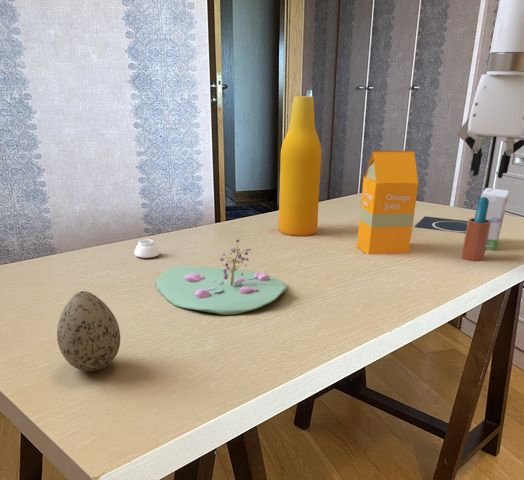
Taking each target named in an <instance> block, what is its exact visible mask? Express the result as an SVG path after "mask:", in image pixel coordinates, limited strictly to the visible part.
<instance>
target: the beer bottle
mask: <svg viewBox="0 0 524 480" xmlns="http://www.w3.org/2000/svg"><path fill="white" fill-rule="evenodd" d="M314 100H315V99H314V96H312V95H311V96H310V95H294V96H293V101H292V107H291V115H290V123H289V126H288V130H287V133H286V134H285V136H284V139H283V141H282V144H281V149H280V164H279V165H280V167H279V168H280V169H279V170H280V171H279V198H278V199H279V200H278V201H279V205H278V206H279V207H278V222H277V223H278V224H277V225H278V231H279V232H280V233H281V234H283V235H287V236H292V237H293V236H296V237H302V236H303V237H304V236H305V237H306V236H311V235H315V233H316V232H317V230H318V226H319V225H318V224H319V202H320V183H321V170H322V169H321V168H322V157H323V156H322V155H323V153H322V144H321V142H320V141H321V140H320V138H319V136H318V132H317V129H316V123H315V121H316V120H315V101H314Z"/></svg>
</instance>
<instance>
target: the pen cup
mask: <svg viewBox="0 0 524 480" xmlns="http://www.w3.org/2000/svg"><path fill="white" fill-rule="evenodd" d="M474 219H475V217H472V218H469V219H468V220H467V221H468V224H467V229H466V234H465V233H464V240H463V246H462V251H461V258H462V259H463V260H466V261H468V262H469V261H470V262H482V261H484V259H485V253H486V250H485V249H486V245H487V240H488V235H489V230H490V226H491V221H490V220H487V219H486V220H485V223H478V222H474Z"/></svg>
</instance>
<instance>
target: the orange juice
mask: <svg viewBox="0 0 524 480" xmlns="http://www.w3.org/2000/svg"><path fill="white" fill-rule="evenodd" d="M416 161H417V160H416V154H415V150H372V152H371V156H370V158H369V161H368V163H367V166H366V170H365V172H364V175H363V179H362V191H361V200H360V209H359V219H358V220H359V221H358V231H357V240H356V241H357V243H356V247H357V248H358V249H359V250H361V251H362V252H363V254H368V255H377V254H378V255H383V254H385V255H386V254H388V255H389V254H409V253H410V244H411V239H412V232H413V227H414V218H415V210H416V204H417V202H416V201H417V196H418V189H419V179H418V171H417V170H418V169H417V163H416Z"/></svg>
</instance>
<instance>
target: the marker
mask: <svg viewBox="0 0 524 480" xmlns="http://www.w3.org/2000/svg"><path fill="white" fill-rule="evenodd" d="M488 205H489V200H488V198H486V197H482V198H481V197H480V198H479V199H478V201H477V203H476V210H475V215H474V218H475V219H474V222H478V223H485V220H486V215H487V210H488Z"/></svg>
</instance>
